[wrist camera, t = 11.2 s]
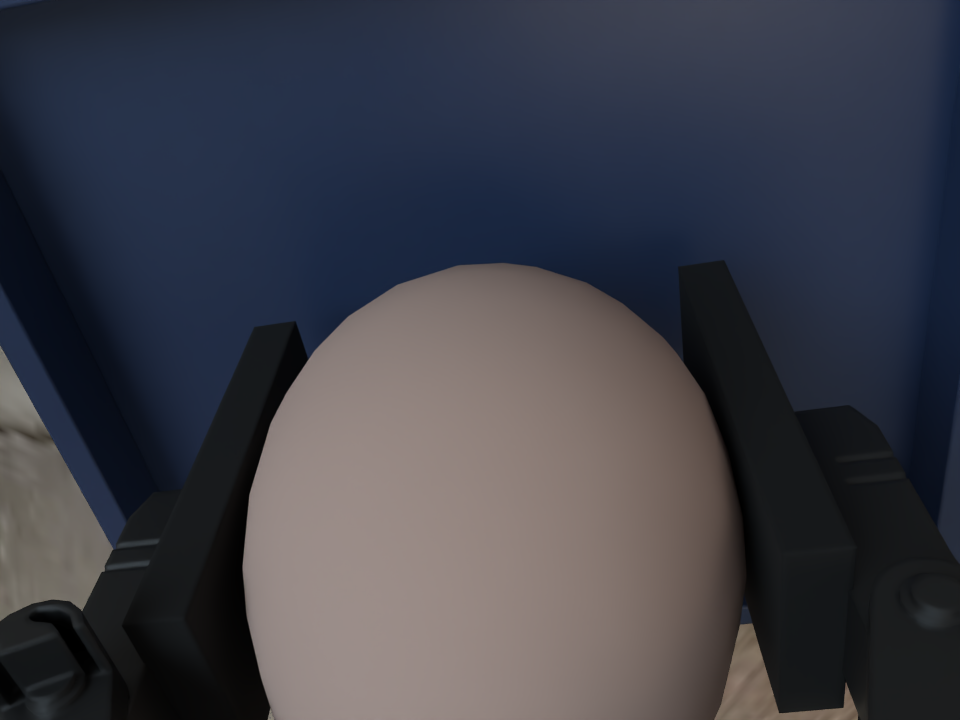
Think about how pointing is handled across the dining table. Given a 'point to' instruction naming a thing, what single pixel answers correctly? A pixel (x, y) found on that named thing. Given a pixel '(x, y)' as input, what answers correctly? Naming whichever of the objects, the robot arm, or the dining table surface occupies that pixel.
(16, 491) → the dining table surface
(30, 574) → the dining table surface
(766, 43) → the tray
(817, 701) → the robot arm
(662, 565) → the egg
